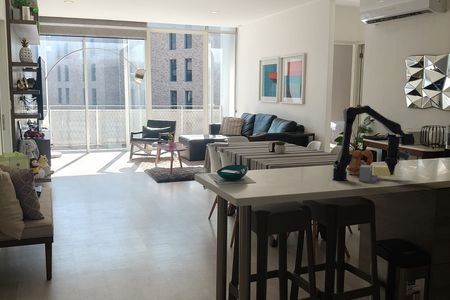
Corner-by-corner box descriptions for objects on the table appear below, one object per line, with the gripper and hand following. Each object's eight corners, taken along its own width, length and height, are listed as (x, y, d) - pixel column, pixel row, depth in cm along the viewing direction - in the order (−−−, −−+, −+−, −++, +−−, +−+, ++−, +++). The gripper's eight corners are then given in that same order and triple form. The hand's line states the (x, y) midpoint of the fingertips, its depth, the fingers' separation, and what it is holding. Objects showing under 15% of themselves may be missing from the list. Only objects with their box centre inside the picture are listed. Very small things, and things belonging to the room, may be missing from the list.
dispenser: (359, 181, 238) (359, 166, 237) (361, 178, 245) (362, 164, 244) (375, 182, 234) (376, 167, 233) (377, 179, 241) (378, 165, 240)
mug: (344, 174, 258) (345, 149, 256) (348, 172, 265) (348, 147, 263) (370, 176, 251) (371, 150, 249) (373, 174, 258) (374, 148, 256)
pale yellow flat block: (373, 175, 244) (373, 166, 244) (374, 174, 247) (374, 165, 246) (394, 176, 240) (394, 167, 239) (395, 175, 242) (395, 166, 241)
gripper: (408, 148, 228) (406, 178, 229) (410, 144, 244) (409, 172, 246) (385, 147, 232) (384, 176, 234) (389, 144, 249) (388, 171, 251)
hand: (392, 174), depth 241 cm, fingers closed on pale yellow flat block, 2 cm apart
